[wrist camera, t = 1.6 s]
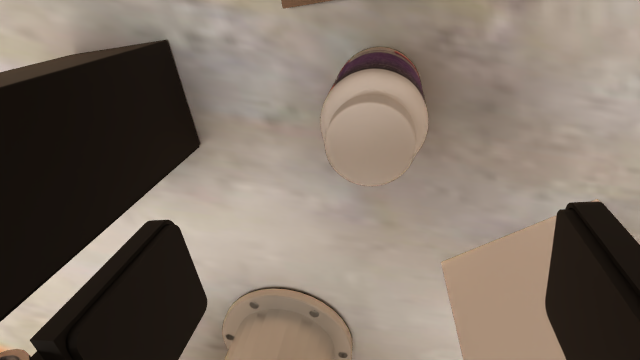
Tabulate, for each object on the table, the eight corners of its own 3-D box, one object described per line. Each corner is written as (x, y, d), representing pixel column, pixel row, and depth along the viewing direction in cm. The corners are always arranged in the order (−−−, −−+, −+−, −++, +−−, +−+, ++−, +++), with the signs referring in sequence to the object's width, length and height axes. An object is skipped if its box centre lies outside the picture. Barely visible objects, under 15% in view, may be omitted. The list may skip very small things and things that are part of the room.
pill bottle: (328, 57, 25) (293, 99, 16) (413, 36, 23) (424, 70, 15) (347, 134, 27) (325, 207, 19) (426, 120, 26) (441, 191, 17)
